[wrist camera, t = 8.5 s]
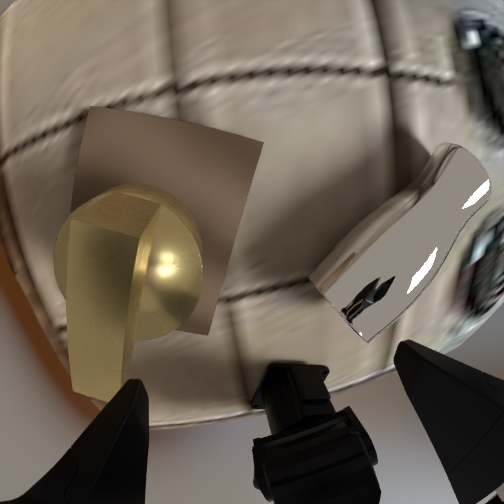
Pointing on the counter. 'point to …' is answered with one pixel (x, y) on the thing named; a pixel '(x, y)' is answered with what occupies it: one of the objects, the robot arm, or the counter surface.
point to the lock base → (174, 180)
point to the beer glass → (403, 242)
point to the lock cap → (124, 279)
